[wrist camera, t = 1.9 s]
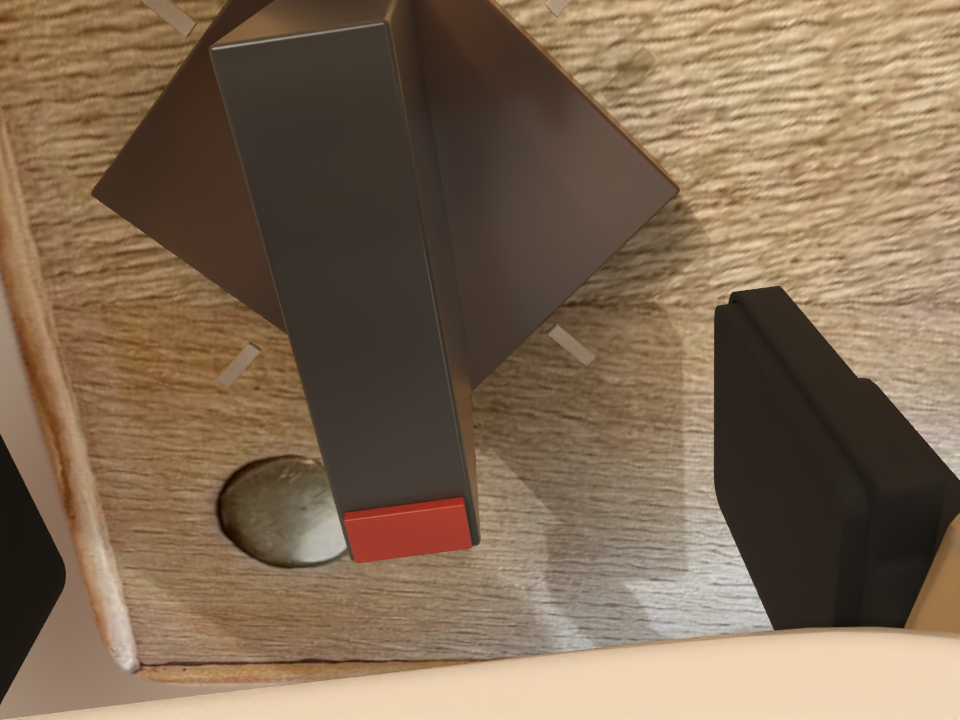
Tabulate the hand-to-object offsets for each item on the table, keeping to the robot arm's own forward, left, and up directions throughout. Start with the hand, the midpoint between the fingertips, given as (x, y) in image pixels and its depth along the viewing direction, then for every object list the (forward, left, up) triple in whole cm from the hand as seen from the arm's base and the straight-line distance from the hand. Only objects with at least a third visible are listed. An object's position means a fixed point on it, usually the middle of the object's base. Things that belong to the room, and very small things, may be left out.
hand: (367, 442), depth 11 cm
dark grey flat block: (0, 0, -10) cm, 10 cm away
